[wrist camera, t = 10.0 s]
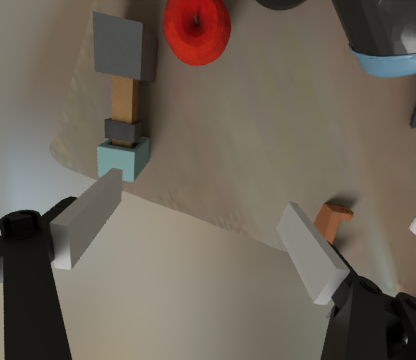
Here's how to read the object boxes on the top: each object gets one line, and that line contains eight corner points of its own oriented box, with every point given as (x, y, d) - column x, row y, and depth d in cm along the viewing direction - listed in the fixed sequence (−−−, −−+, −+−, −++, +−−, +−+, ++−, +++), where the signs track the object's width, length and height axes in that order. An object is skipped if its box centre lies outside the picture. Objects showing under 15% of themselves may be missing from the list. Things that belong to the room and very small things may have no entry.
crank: (318, 263, 61) (334, 287, 54) (294, 260, 60) (306, 283, 53) (351, 207, 53) (375, 226, 46) (323, 202, 52) (343, 221, 45)
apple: (234, 22, 36) (249, -8, 25) (211, 79, 39) (215, 75, 28) (182, -8, 34) (172, -56, 23) (162, 54, 38) (146, 40, 26)
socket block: (121, 132, 43) (97, 146, 33) (149, 137, 44) (134, 152, 34) (121, 157, 45) (98, 176, 35) (148, 161, 46) (133, 182, 36)
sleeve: (121, 31, 36) (92, 11, 26) (157, 39, 37) (142, 22, 27) (121, 75, 39) (94, 71, 29) (154, 82, 39) (140, 80, 30)
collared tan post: (116, 60, 34) (103, 56, 29) (145, 66, 34) (137, 63, 30) (116, 152, 40) (105, 160, 36) (140, 156, 41) (133, 164, 36)
